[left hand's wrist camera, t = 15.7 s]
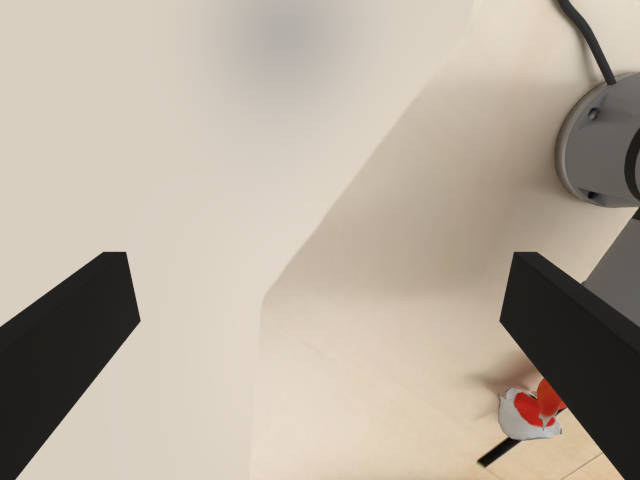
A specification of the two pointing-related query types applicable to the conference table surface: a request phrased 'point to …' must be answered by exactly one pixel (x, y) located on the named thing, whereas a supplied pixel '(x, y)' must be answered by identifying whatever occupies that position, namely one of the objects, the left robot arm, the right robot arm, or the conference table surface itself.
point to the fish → (530, 413)
